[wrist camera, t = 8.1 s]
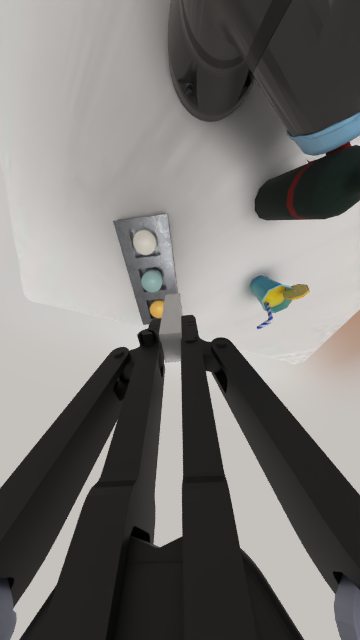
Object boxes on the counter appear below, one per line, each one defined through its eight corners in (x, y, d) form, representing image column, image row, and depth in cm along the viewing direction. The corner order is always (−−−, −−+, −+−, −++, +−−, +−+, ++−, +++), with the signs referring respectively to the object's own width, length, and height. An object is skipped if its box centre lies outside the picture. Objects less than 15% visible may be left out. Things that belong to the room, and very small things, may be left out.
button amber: (149, 298, 48) (148, 303, 45) (166, 296, 47) (166, 301, 44) (153, 313, 50) (151, 318, 47) (169, 311, 50) (168, 317, 47)
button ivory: (134, 230, 38) (130, 231, 35) (155, 228, 38) (153, 228, 35) (139, 253, 41) (136, 256, 38) (159, 251, 40) (157, 253, 37)
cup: (246, 309, 52) (268, 338, 39) (230, 296, 49) (248, 322, 36) (284, 276, 46) (324, 298, 33) (268, 259, 43) (306, 275, 31)
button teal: (141, 269, 41) (138, 273, 38) (161, 267, 41) (159, 271, 38) (146, 288, 44) (143, 293, 41) (164, 286, 44) (163, 291, 41)
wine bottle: (306, 181, 34) (662, 72, 9) (270, 227, 39) (440, 240, 14) (282, 154, 32) (666, -85, 7) (247, 207, 37) (399, 178, 12)
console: (119, 221, 38) (113, 221, 35) (167, 214, 37) (166, 213, 34) (145, 318, 53) (143, 324, 50) (180, 314, 52) (180, 320, 49)
